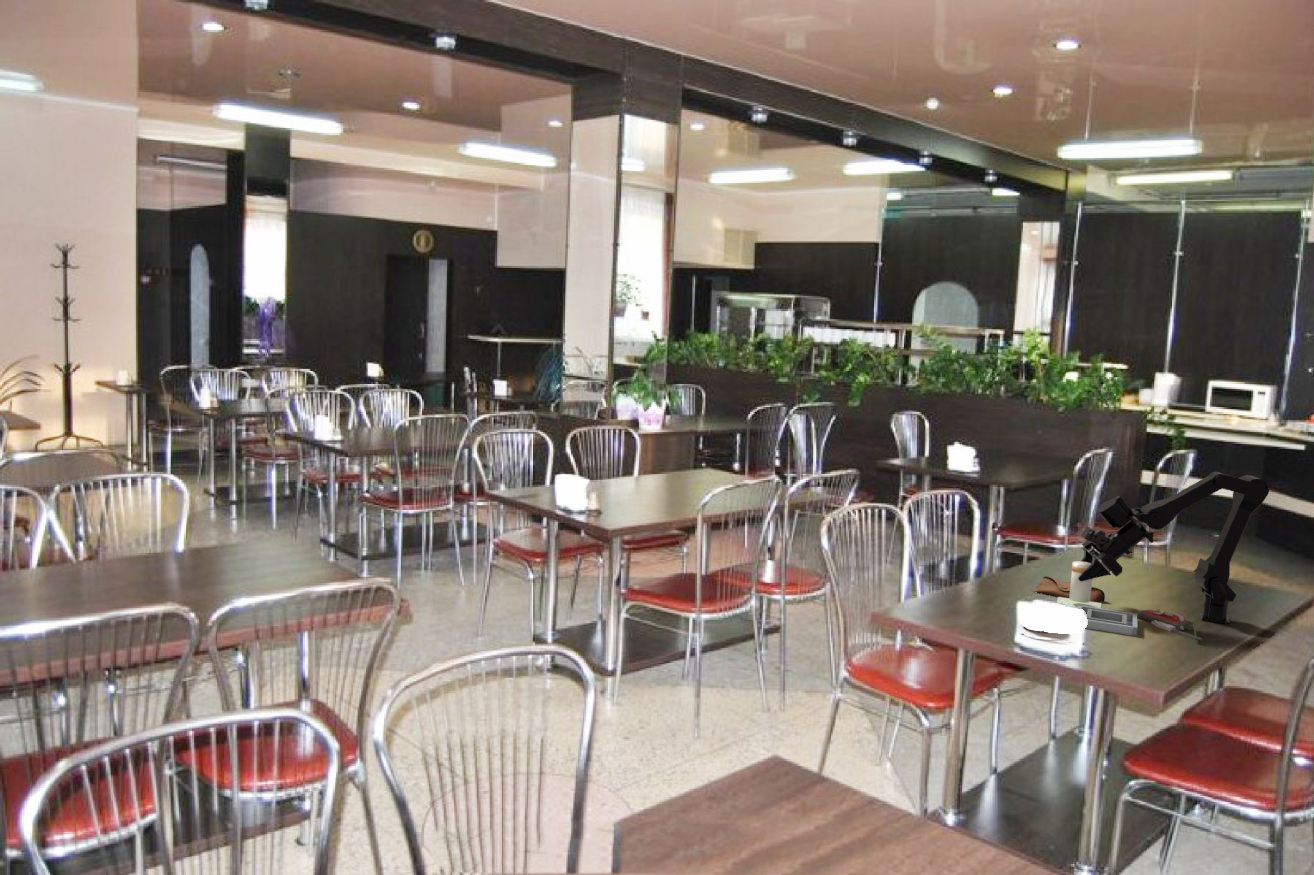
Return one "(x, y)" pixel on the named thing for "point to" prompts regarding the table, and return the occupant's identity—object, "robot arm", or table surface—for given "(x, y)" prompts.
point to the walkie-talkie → (1168, 621)
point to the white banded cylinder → (1080, 583)
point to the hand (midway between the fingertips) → (1076, 577)
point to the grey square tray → (1111, 620)
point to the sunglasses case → (1065, 589)
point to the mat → (1077, 603)
